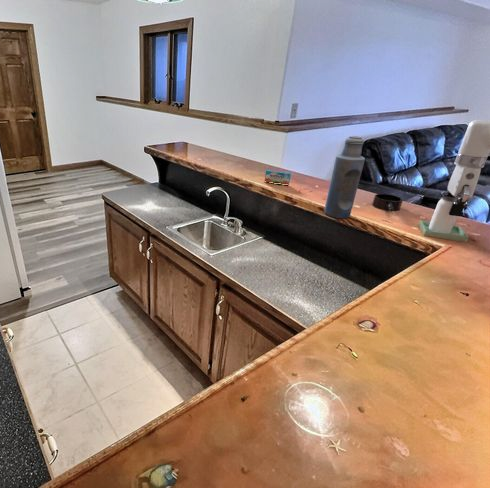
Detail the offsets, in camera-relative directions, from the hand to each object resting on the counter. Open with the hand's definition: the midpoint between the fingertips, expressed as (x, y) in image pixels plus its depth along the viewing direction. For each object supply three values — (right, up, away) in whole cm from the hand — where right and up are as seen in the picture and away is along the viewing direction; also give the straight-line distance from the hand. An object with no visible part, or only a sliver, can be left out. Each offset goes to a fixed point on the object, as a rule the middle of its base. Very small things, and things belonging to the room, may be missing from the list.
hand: (450, 210), depth 119 cm
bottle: (-29, 0, +20) cm, 35 cm away
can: (-1, -7, +4) cm, 8 cm away
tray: (0, -8, +4) cm, 9 cm away
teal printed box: (-42, +19, +56) cm, 72 cm away
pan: (-6, +3, +25) cm, 25 cm away
